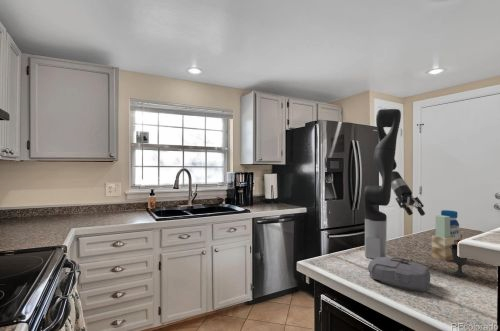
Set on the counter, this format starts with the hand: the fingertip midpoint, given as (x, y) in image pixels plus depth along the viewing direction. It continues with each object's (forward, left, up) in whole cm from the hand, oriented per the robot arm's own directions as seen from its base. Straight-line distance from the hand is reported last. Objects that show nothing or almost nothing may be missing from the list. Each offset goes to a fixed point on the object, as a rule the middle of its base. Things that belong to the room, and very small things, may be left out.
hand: (417, 214), depth 134 cm
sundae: (-25, -17, -18) cm, 35 cm away
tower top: (-5, -11, -13) cm, 18 cm away
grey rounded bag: (-48, +1, -19) cm, 52 cm away
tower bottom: (-5, -11, -18) cm, 22 cm away
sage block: (-5, -11, -8) cm, 14 cm away
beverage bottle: (+13, -13, -18) cm, 26 cm away
